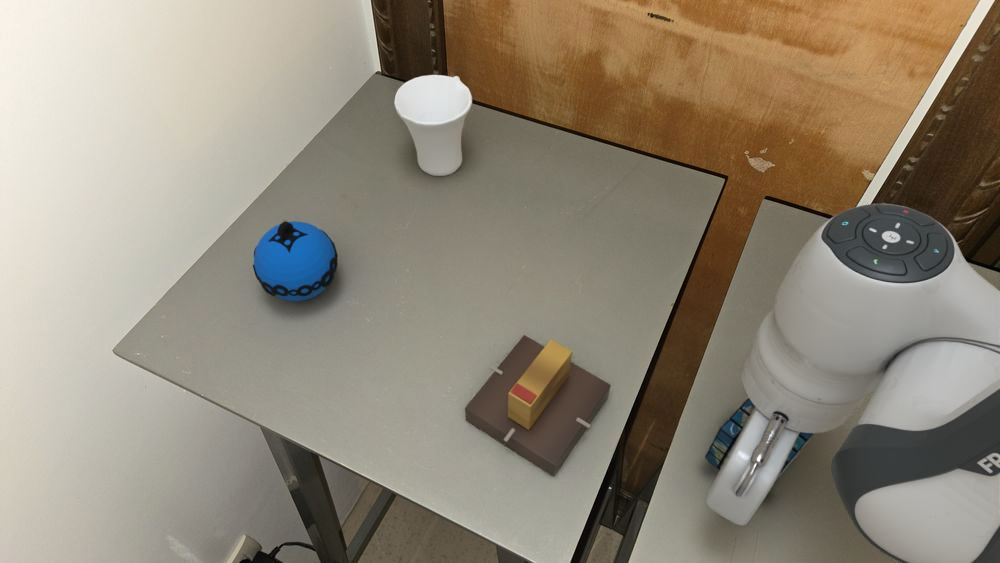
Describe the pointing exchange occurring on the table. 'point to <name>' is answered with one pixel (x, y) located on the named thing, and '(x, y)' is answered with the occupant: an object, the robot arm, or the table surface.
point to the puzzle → (731, 432)
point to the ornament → (295, 261)
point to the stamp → (539, 384)
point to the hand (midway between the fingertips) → (754, 449)
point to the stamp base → (556, 422)
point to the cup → (435, 120)
